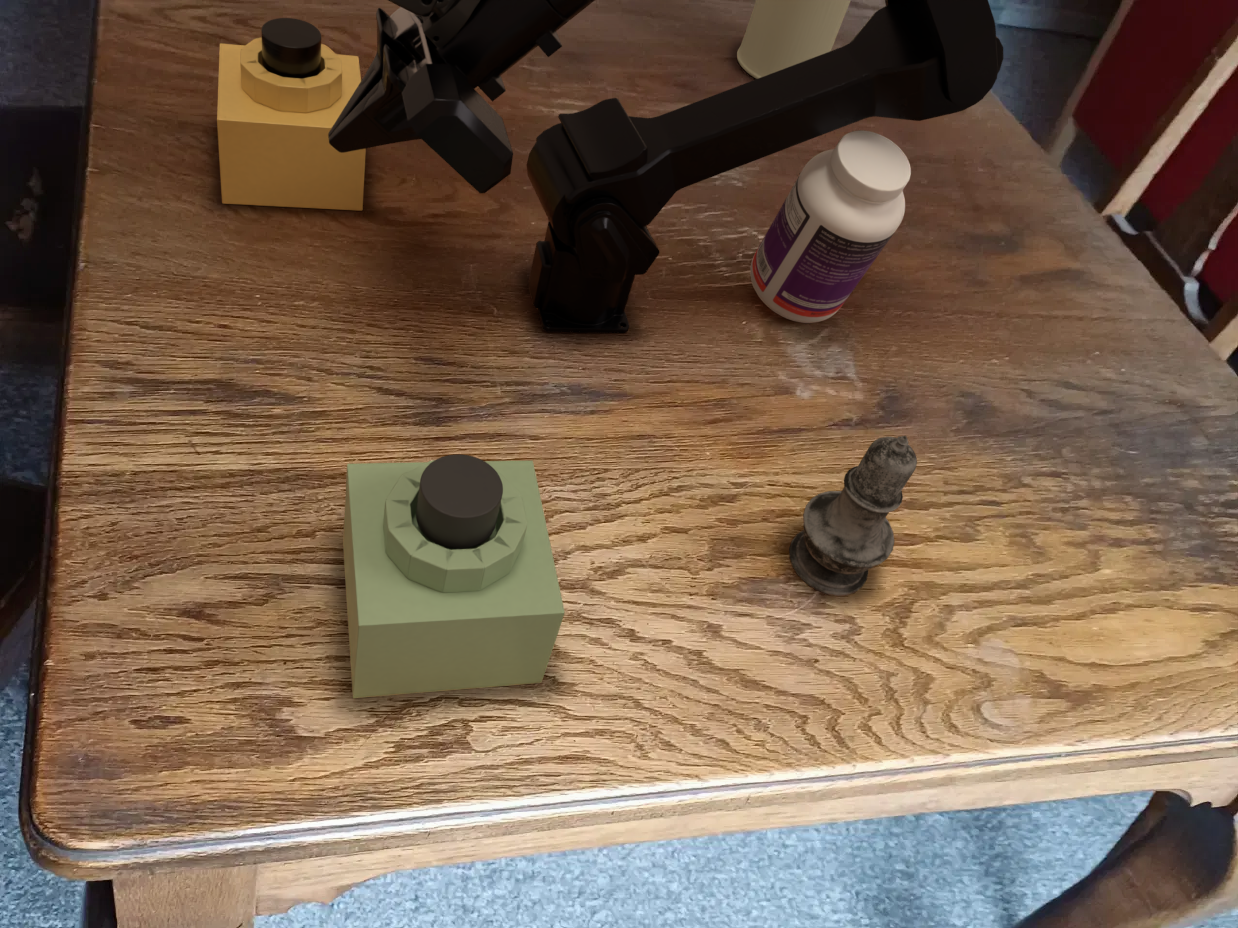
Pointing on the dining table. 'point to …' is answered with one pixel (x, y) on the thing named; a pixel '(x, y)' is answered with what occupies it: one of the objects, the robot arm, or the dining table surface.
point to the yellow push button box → (285, 133)
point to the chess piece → (853, 520)
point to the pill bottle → (831, 227)
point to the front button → (458, 501)
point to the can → (789, 33)
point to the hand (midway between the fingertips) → (333, 144)
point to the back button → (291, 48)
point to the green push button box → (445, 588)
